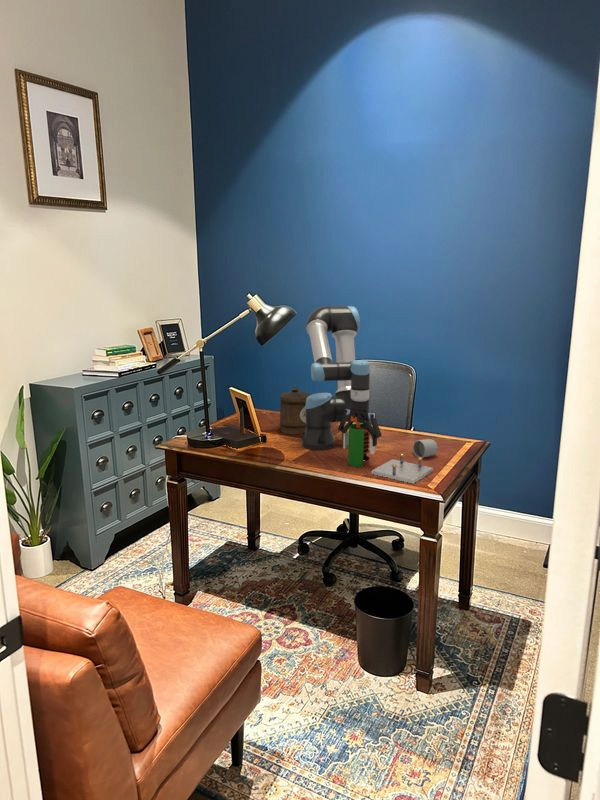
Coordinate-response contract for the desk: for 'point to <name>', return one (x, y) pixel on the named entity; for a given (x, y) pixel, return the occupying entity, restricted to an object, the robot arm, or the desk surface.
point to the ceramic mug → (425, 448)
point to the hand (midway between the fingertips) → (358, 450)
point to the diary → (236, 436)
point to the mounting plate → (403, 470)
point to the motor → (358, 444)
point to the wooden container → (293, 411)
